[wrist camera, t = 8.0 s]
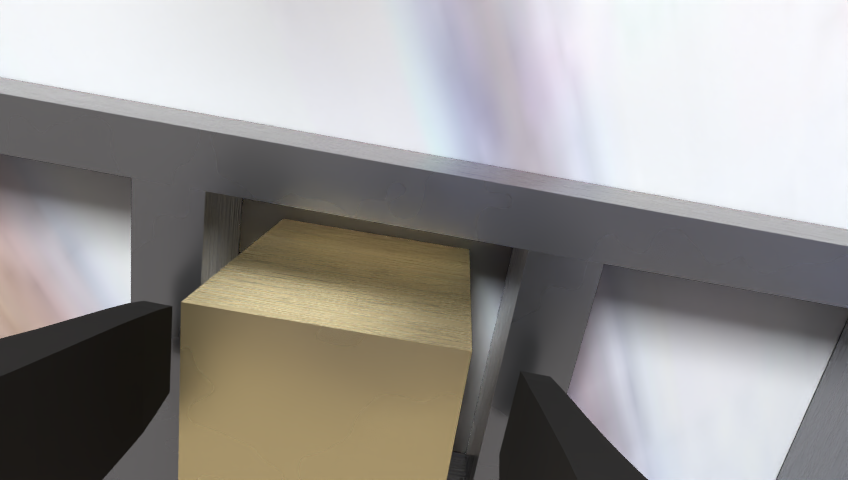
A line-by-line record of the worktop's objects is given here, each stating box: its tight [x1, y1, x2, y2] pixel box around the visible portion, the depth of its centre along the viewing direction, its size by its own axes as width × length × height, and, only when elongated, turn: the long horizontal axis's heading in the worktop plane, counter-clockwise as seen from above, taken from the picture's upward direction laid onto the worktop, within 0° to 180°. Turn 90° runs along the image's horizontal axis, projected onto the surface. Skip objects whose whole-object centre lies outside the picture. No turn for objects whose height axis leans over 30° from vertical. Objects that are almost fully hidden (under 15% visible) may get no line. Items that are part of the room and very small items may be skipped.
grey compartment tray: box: [0, 77, 848, 480], centre depth 13 cm, size 24×9×2 cm, turn 80°
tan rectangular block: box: [178, 219, 472, 480], centre depth 11 cm, size 4×4×5 cm
